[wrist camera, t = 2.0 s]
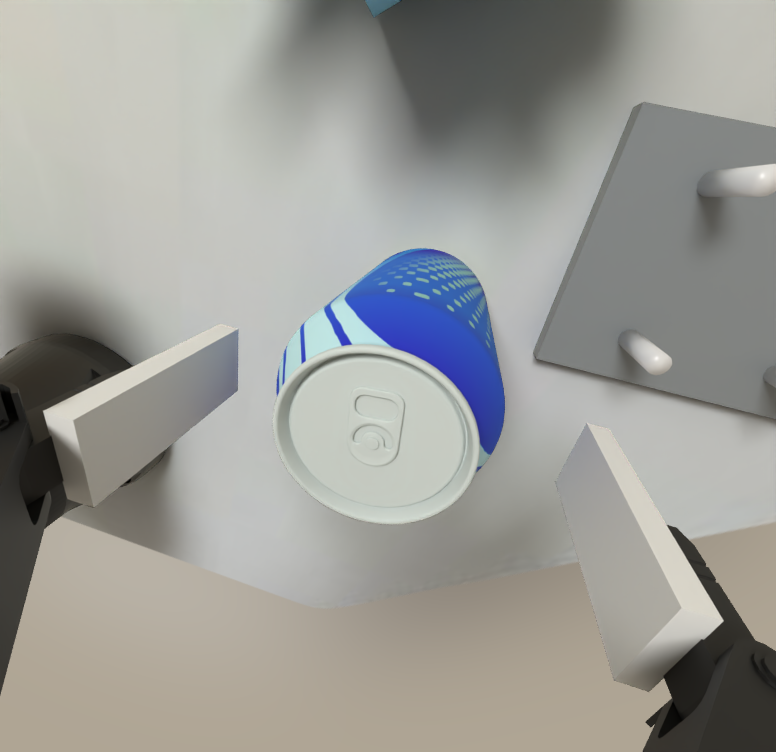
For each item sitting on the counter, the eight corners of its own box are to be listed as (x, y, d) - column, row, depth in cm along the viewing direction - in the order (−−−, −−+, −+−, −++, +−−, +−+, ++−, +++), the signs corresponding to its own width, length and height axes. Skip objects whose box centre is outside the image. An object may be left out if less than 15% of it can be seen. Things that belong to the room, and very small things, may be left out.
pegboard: (533, 352, 26) (548, 385, 21) (633, 107, 19) (686, 78, 15) (810, 421, 24) (892, 474, 19) (1017, 181, 18) (1211, 175, 13)
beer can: (512, 315, 25) (575, 471, 11) (419, 386, 28) (372, 575, 14) (428, 216, 23) (368, 244, 9) (340, 305, 27) (198, 425, 13)
